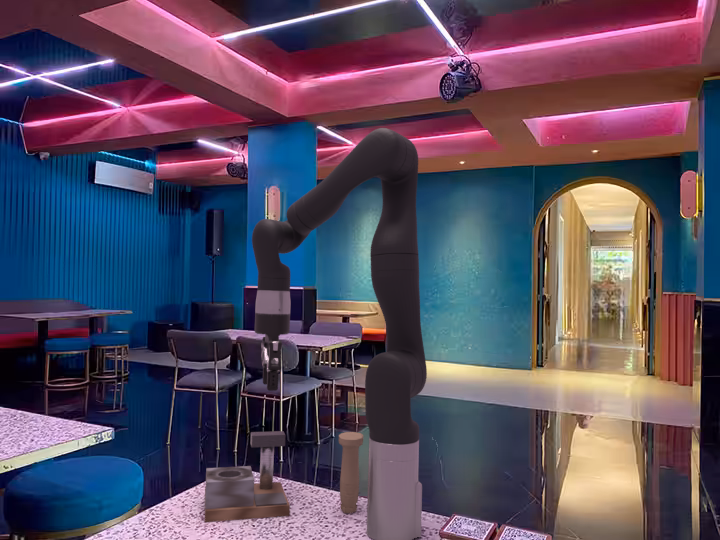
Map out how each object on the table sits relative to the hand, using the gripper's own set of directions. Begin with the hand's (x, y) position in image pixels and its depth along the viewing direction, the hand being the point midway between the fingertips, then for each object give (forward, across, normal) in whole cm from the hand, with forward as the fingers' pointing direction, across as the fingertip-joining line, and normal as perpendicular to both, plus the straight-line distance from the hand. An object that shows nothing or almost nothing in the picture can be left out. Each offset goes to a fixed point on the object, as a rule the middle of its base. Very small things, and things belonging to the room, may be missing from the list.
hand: (269, 387), depth 119 cm
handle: (+24, -11, -16) cm, 30 cm away
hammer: (+21, 0, 0) cm, 21 cm away
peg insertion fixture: (+23, -4, +4) cm, 24 cm away
